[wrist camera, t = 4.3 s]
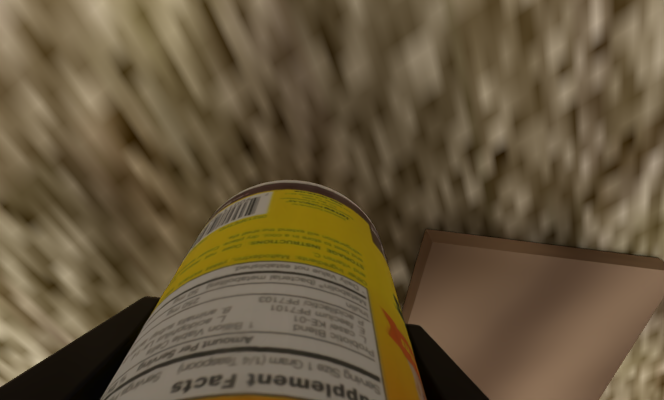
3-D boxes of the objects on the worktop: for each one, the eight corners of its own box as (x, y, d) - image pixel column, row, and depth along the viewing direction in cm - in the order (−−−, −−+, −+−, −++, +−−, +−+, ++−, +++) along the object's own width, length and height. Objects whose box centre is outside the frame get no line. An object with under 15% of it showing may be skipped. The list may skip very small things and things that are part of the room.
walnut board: (658, 258, 16) (679, 272, 15) (562, 418, 20) (574, 437, 19) (425, 228, 15) (432, 241, 14) (375, 402, 19) (377, 421, 18)
